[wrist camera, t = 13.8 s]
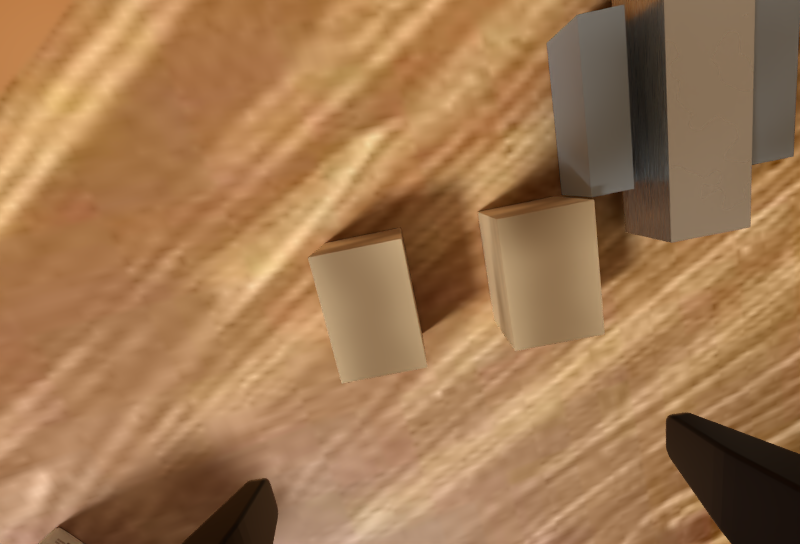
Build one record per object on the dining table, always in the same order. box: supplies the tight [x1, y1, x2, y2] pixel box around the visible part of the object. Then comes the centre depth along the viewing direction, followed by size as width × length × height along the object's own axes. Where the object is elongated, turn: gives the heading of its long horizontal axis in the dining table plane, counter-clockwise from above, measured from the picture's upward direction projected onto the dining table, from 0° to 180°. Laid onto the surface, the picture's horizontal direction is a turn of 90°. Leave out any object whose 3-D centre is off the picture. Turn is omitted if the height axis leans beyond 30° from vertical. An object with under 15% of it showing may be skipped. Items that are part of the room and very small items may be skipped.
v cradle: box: [547, 0, 800, 197], centre depth 16 cm, size 8×7×3 cm
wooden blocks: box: [308, 196, 605, 383], centre depth 18 cm, size 12×6×4 cm, turn 101°
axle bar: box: [612, 0, 755, 243], centre depth 15 cm, size 13×3×3 cm, turn 11°
